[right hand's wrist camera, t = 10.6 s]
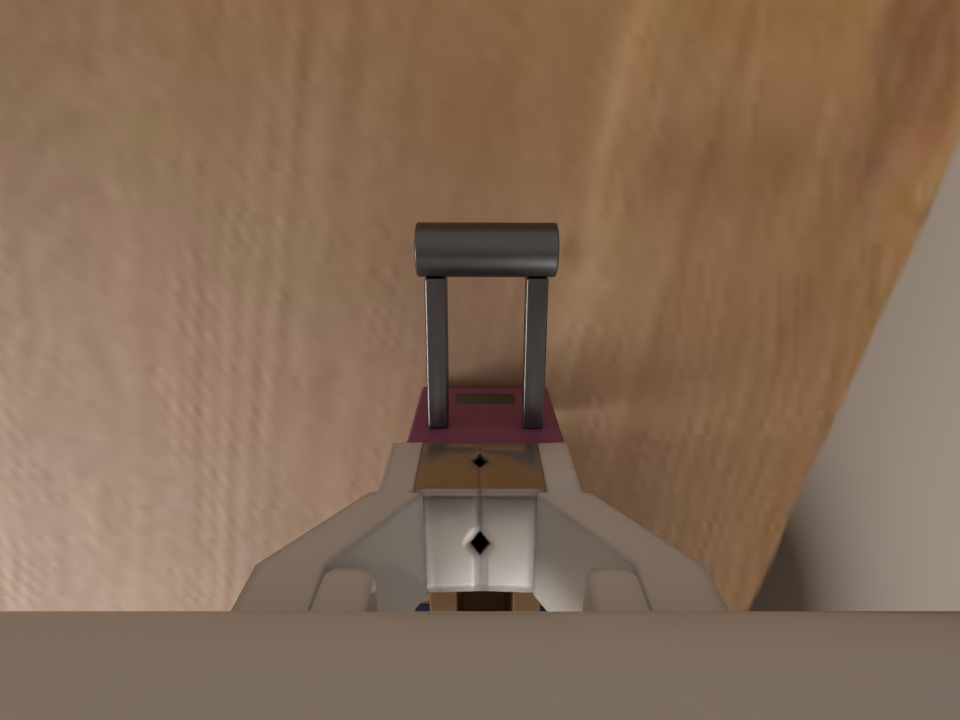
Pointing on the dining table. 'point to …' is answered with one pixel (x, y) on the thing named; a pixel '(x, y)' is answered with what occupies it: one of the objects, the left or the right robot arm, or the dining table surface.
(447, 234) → the drawer
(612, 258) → the dining table surface
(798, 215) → the dining table surface
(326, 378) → the dining table surface
